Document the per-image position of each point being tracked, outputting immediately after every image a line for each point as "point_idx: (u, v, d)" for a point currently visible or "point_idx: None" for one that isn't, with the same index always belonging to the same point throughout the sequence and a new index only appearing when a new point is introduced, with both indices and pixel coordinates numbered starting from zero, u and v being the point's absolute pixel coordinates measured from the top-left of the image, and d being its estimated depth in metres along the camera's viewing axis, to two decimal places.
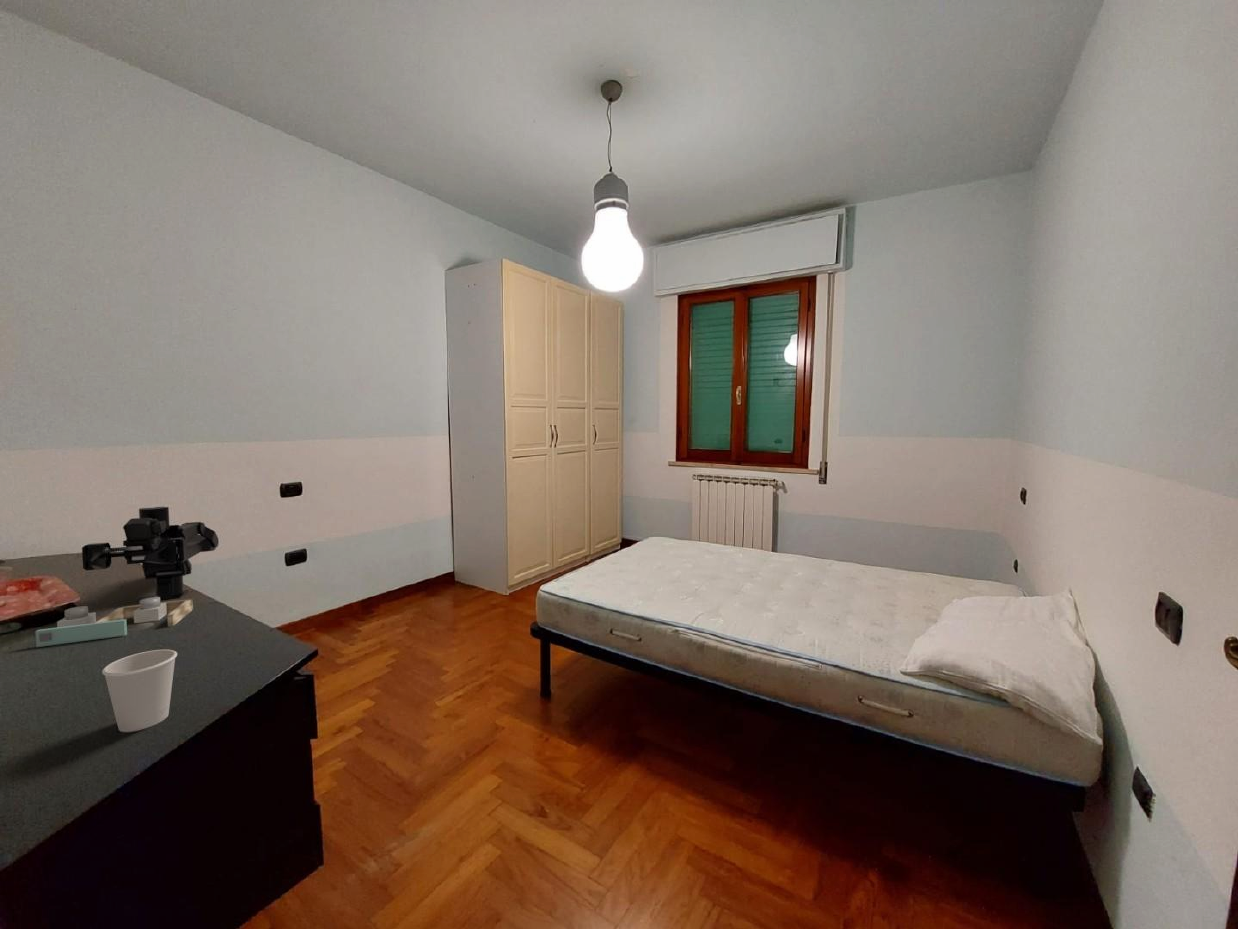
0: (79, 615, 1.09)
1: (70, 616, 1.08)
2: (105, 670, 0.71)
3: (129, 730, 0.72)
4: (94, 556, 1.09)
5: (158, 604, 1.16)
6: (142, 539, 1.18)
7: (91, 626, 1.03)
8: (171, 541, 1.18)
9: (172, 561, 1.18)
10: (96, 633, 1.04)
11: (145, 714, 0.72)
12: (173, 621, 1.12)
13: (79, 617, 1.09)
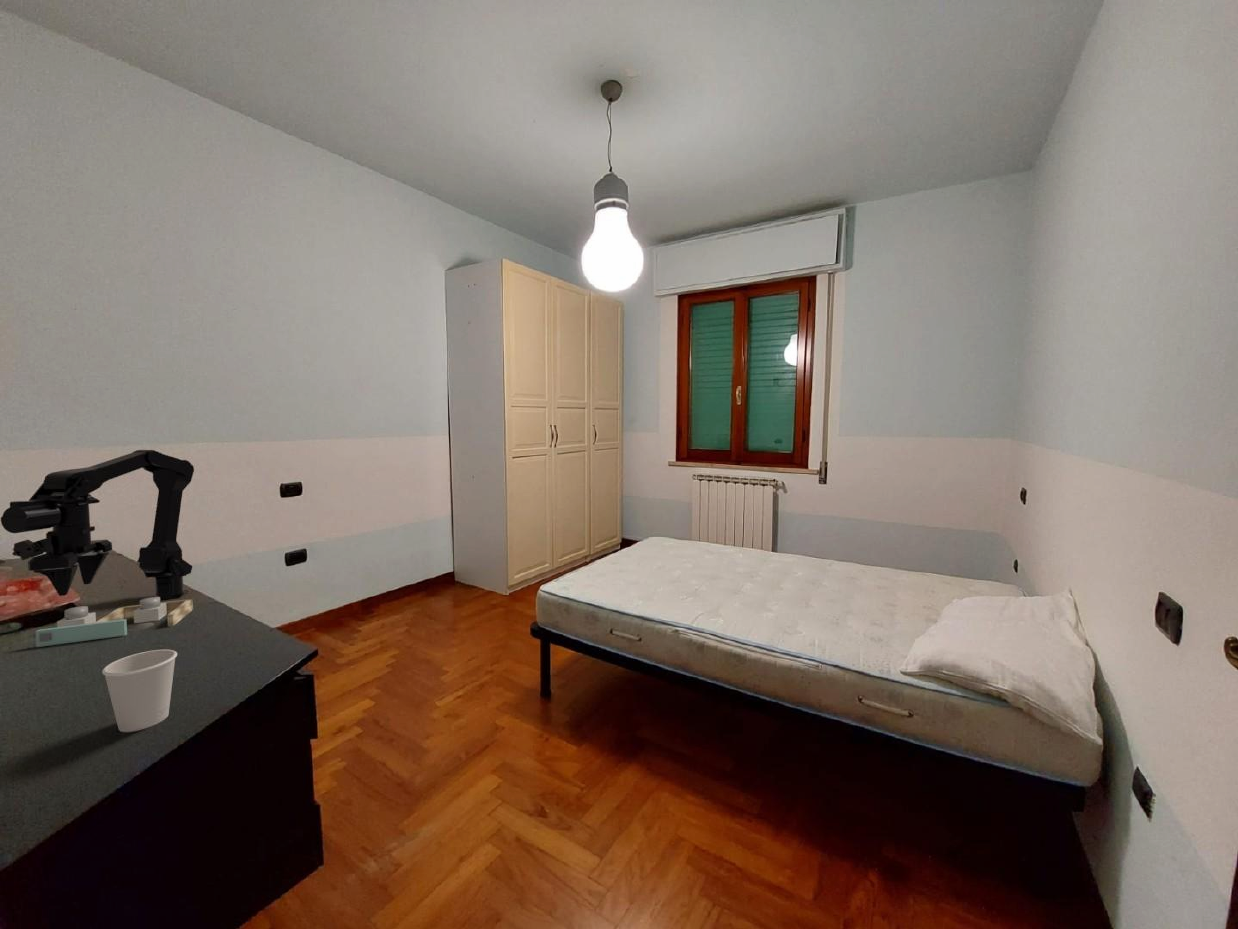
0: (79, 615, 1.09)
1: (70, 616, 1.08)
2: (105, 670, 0.71)
3: (129, 730, 0.72)
4: None
5: (158, 604, 1.16)
6: None
7: (91, 626, 1.03)
8: None
9: (69, 569, 1.04)
10: (96, 633, 1.04)
11: (145, 714, 0.72)
12: (173, 621, 1.12)
13: (79, 617, 1.09)
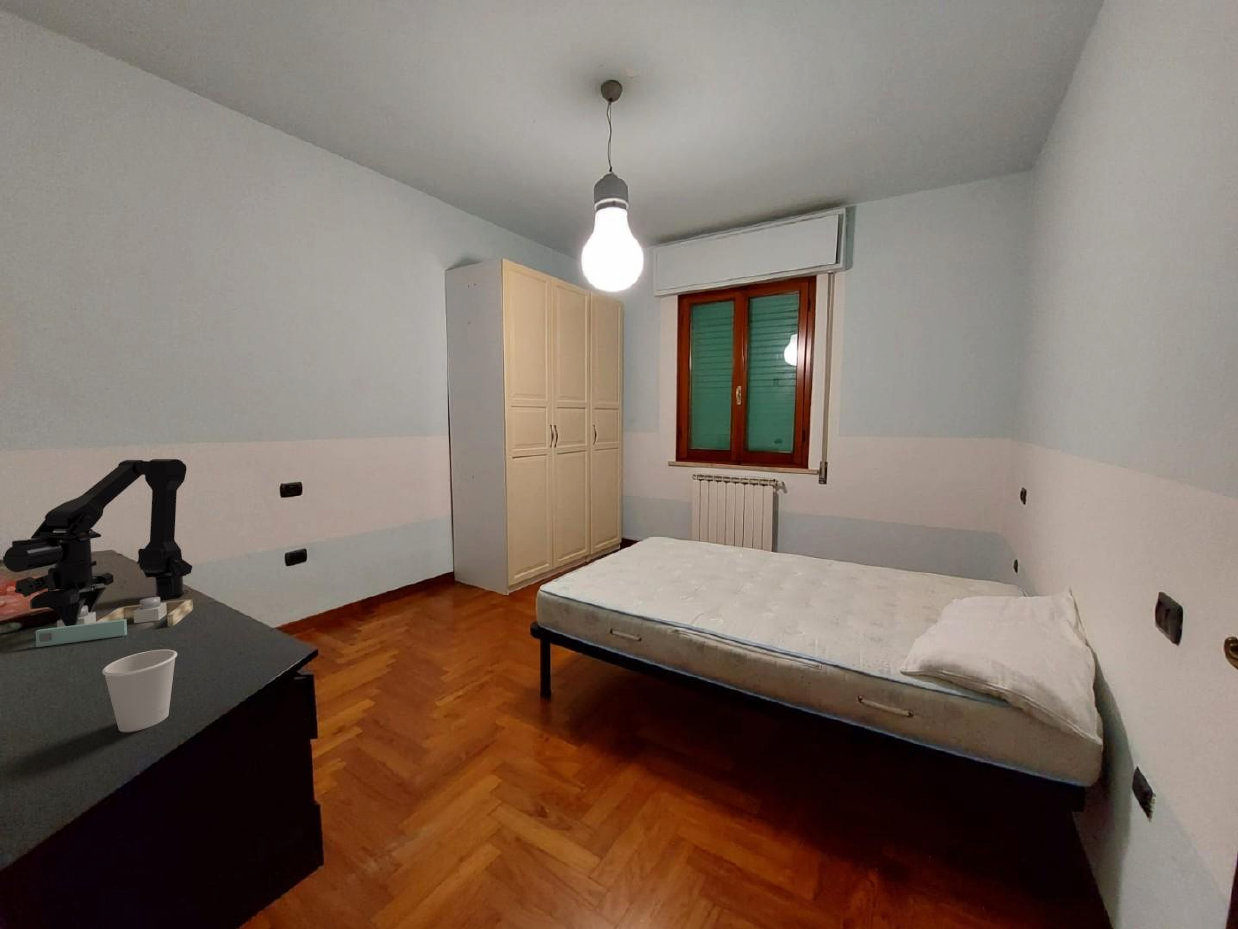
0: None
1: None
2: (105, 670, 0.71)
3: (129, 730, 0.72)
4: None
5: (158, 604, 1.16)
6: None
7: (91, 626, 1.03)
8: None
9: (76, 603, 1.06)
10: (96, 633, 1.04)
11: (145, 714, 0.72)
12: (173, 621, 1.12)
13: (79, 616, 1.09)
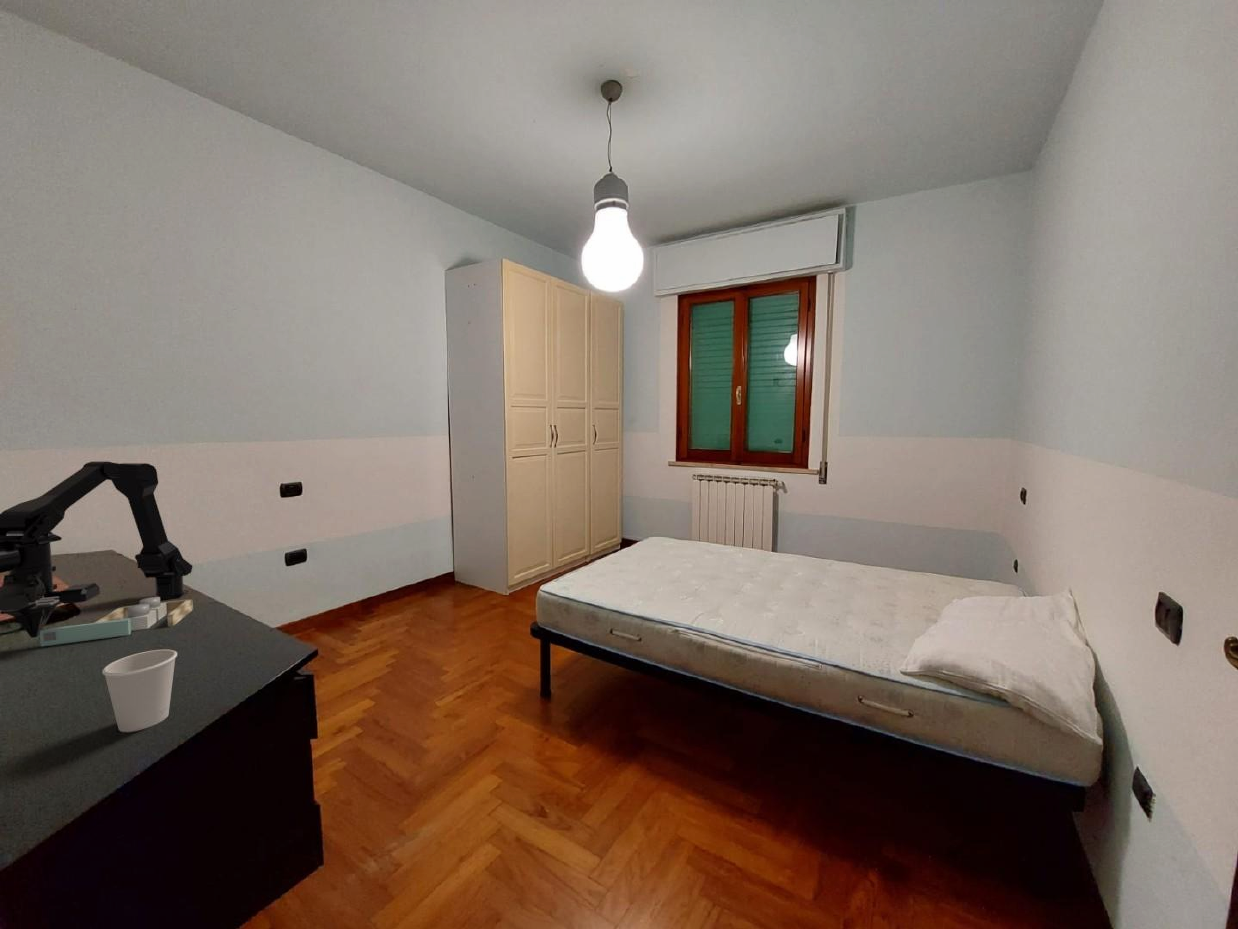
0: None
1: (148, 610, 1.11)
2: (105, 670, 0.71)
3: (129, 730, 0.72)
4: (25, 626, 0.98)
5: (158, 604, 1.16)
6: None
7: (95, 626, 1.03)
8: (43, 609, 0.98)
9: (60, 602, 1.03)
10: (100, 632, 1.04)
11: (145, 714, 0.72)
12: (173, 621, 1.12)
13: None
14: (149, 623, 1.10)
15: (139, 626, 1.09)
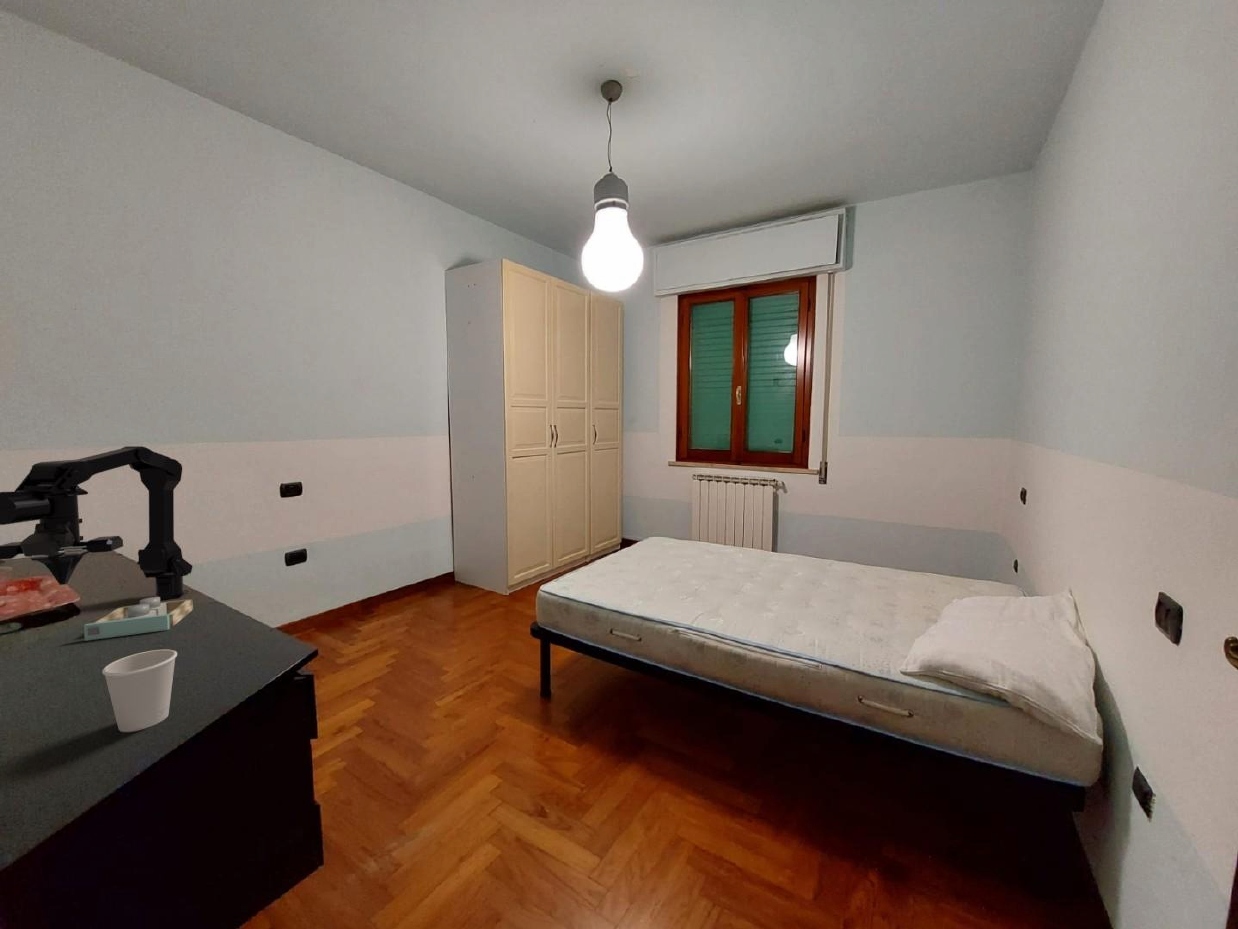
0: None
1: (148, 610, 1.11)
2: (105, 670, 0.71)
3: (129, 730, 0.72)
4: (54, 573, 1.04)
5: (158, 604, 1.16)
6: None
7: (136, 620, 1.06)
8: (72, 557, 1.04)
9: None
10: (141, 627, 1.07)
11: (145, 714, 0.72)
12: (173, 621, 1.12)
13: None
14: None
15: None
